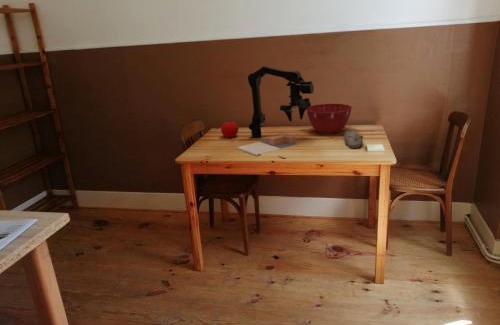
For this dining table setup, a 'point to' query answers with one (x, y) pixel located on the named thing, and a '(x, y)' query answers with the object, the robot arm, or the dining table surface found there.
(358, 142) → the grey wooden log
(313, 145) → the dining table surface
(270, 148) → the board
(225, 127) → the tomato
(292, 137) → the t block
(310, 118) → the mixing bowl
